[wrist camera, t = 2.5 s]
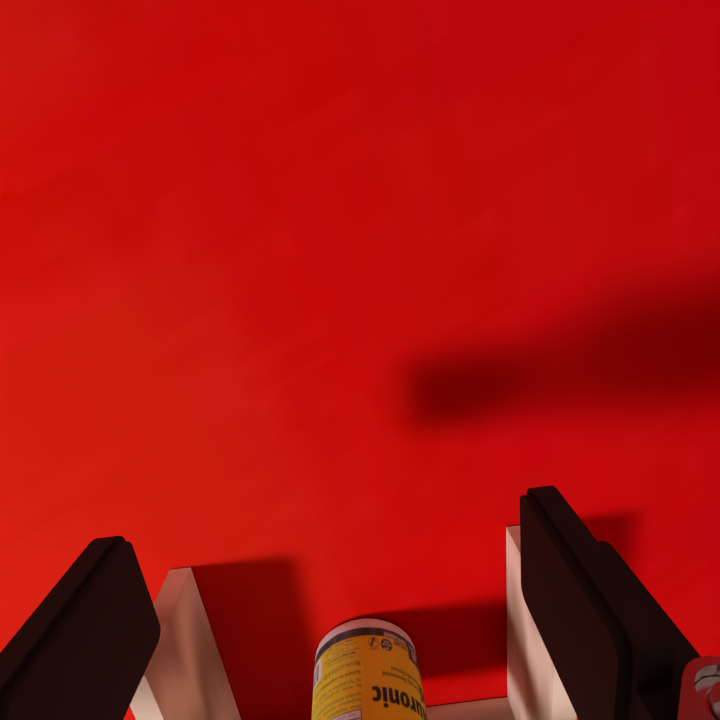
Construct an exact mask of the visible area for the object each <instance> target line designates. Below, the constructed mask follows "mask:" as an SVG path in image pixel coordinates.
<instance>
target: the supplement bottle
mask: <svg viewBox="0 0 720 720" xmlns="http://www.w3.org/2000/svg"><path fill="white" fill-rule="evenodd" d="M311 720H428V719H427V713H426V707H425V701H424V695H423V689H422V683H421V678H420V671H419V665H418V660H417V655H416V651H415V647H414V645H413V642H412V640H411V639H410V637H409V636H408V635H407V634H406V633H405V632H404V631H403V630H402V629H401V628H399V627H398V626H396V625H394V624H392V623H390V622H387V621H384V620H379V619H371V618H364V619H357V620H352V621H349V622H346V623H344V624H341V625H339V626H337V627H336V628H334V629H333V630H331V631H330V632H329V633H328V634H327V635H326V636H325V637H324V638H323V639H322V641H321V643H320V644H319V646H318V649H317V652H316V657H315V668H314V685H313V702H312V719H311Z"/></svg>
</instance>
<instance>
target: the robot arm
mask: <svg viewBox="0 0 720 720" xmlns="http://www.w3.org/2000/svg"><path fill="white" fill-rule="evenodd" d="M520 556H521V589H522V594H523V598H524V600H525V603H526V605H527V607H528V610H529V612H530V614H531V616H532V618H533V621H534V623H535V625H536V627H537V629H538V632H539V634H540V636H541V638H542V640H543V643H544V645H545V647H546V649H547V651H548V654H549V656H550V658H551V660H552V662H553V665H554V667H555V669H556V671H557V673H558V676H559V678H560V680H561V682H562V684H563V687H564V689H565V691H566V693H567V695H568V697H569V700H570V702H571V704H572V706H573V708H574V711H575V713H576V715H577V717H578V719H579V720H720V657H716V656H704V657H701V656H700V655H699V654H698V653H697V651H696V650H695V649H694V648H693V646H692V645H691V644H690V643H689V641H688V640H687V639H686V638H685V636H684V635H683V634H682V633H681V631H680V630H679V629H678V628H677V626H676V625H675V624H674V623H673V621H672V620H671V619H670V618H669V616H668V615H667V614H666V613H665V611H664V610H663V609H662V608H661V606H660V605H659V604H658V603H657V601H656V600H655V599H654V598H653V596H652V595H651V594H650V593H649V592H648V590H647V589H646V588H645V587H644V585H643V584H642V583H641V582H640V580H639V579H638V578H637V577H636V575H635V574H634V573H633V572H632V570H631V569H630V568H629V567H628V565H627V564H626V563H625V562H624V560H623V559H622V558H621V557H620V555H619V554H618V553H617V552H616V550H615V549H614V548H613V547H612V546H611V545H610V544H609V543H607V542H605V541H600V542H597V540H596V539H595V538H594V537H593V535H592V534H591V533H590V531H589V530H588V529H587V527H586V526H585V525H584V524H583V522H582V521H581V520H580V518H579V517H578V516H577V514H576V513H575V512H574V511H573V509H572V508H571V507H570V505H569V504H568V503H567V501H566V500H565V499H564V497H563V496H562V495H561V494H560V492H559V491H558V490H557V488H556V487H555V486H544V487H536V488H529V489H528V491H527V495H523V496H521V497H520ZM160 633H161V627H160V623H159V620H158V617H157V614H156V611H155V609H154V606H153V603H152V600H151V597H150V594H149V592H148V589H147V586H146V583H145V580H144V577H143V574H142V572H141V569H140V566H139V563H138V560H137V557H136V555H135V552H134V549H133V546H132V544H131V543H130V542H128V541H125V539H124V538H123V537H122V536H114V537H105V538H97V539H94V540H93V541H92V542H91V543H90V544H89V545H88V546H87V547H86V549H85V550H84V551H83V552H82V553H81V555H80V556H79V557H78V558H77V560H76V561H75V562H74V563H73V564H72V566H71V567H70V568H69V569H68V571H67V572H66V573H65V574H64V576H63V577H62V578H61V579H60V580H59V582H58V583H57V584H56V585H55V587H54V588H53V589H52V590H51V591H50V593H49V594H48V595H47V596H46V598H45V599H44V600H43V601H42V603H41V604H40V605H39V606H38V607H37V609H36V610H35V611H34V612H33V614H32V615H31V616H30V617H29V618H28V620H27V621H26V622H25V623H24V625H23V626H22V627H21V628H20V630H19V631H18V632H17V633H16V634H15V636H14V637H13V638H12V639H11V641H10V642H9V643H8V644H7V645H6V647H5V648H4V649H3V650H2V652H1V653H0V720H123V719H124V716H125V714H126V712H127V710H128V708H129V706H130V703H131V701H132V699H133V697H134V695H135V692H136V690H137V688H138V686H139V684H140V682H141V679H142V677H143V675H144V673H145V671H146V669H147V666H148V664H149V662H150V660H151V658H152V655H153V653H154V651H155V649H156V647H157V645H158V642H159V639H160Z"/></svg>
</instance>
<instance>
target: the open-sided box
mask: <svg viewBox="0 0 720 720" xmlns="http://www.w3.org/2000/svg"><path fill="white" fill-rule="evenodd" d="M506 563H507V687H508V697H504V698H496V699H488V700H480V701H472V702H464V703H456V704H448V705H440V706H432V707H426V713H427V719H428V720H576V713H575V711H574V708H573V706H572V704H571V702H570V700H569V697H568V695H567V693H566V691H565V689H564V687H563V684H562V682H561V680H560V678H559V676H558V673H557V671H556V669H555V667H554V665H553V662H552V660H551V658H550V656H549V654H548V651H547V649H546V647H545V645H544V643H543V640H542V638H541V636H540V634H539V632H538V629H537V627H536V625H535V623H534V621H533V618H532V616H531V614H530V612H529V610H528V607H527V605H526V603H525V600H524V598H523V594H522V589H521V556H520V525H518V526H510V527H506ZM153 606H154V609H155V611H156V614H157V617H158V620H159V623H160V627H161V633H160V639H159V642H158V645H157V647H156V649H155V651H154V653H153V655H152V658H151V660H150V662H149V664H148V666H147V669H146V671H145V673H144V675H143V677H142V679H141V682H140V684H139V686H138V688H137V690H136V692H135V695H134V697H133V699H132V701H131V703H130V707H131V709H132V711H133V714H134V716H135V718H136V720H241V717H240V714H239V711H238V708H237V705H236V702H235V699H234V696H233V693H232V690H231V687H230V684H229V681H228V678H227V675H226V672H225V669H224V666H223V663H222V660H221V657H220V654H219V651H218V648H217V645H216V642H215V639H214V636H213V633H212V630H211V627H210V624H209V621H208V618H207V615H206V612H205V609H204V606H203V603H202V600H201V597H200V594H199V591H198V588H197V584H196V581H195V578H194V575H193V572H192V569H191V567H189V568H181V569H173V570H170V571H169V573H168V575H167V577H166V579H165V581H164V583H163V585H162V587H161V590H160V592H159V594H158V596H157V598H156V600H155V602H154V604H153Z"/></svg>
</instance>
